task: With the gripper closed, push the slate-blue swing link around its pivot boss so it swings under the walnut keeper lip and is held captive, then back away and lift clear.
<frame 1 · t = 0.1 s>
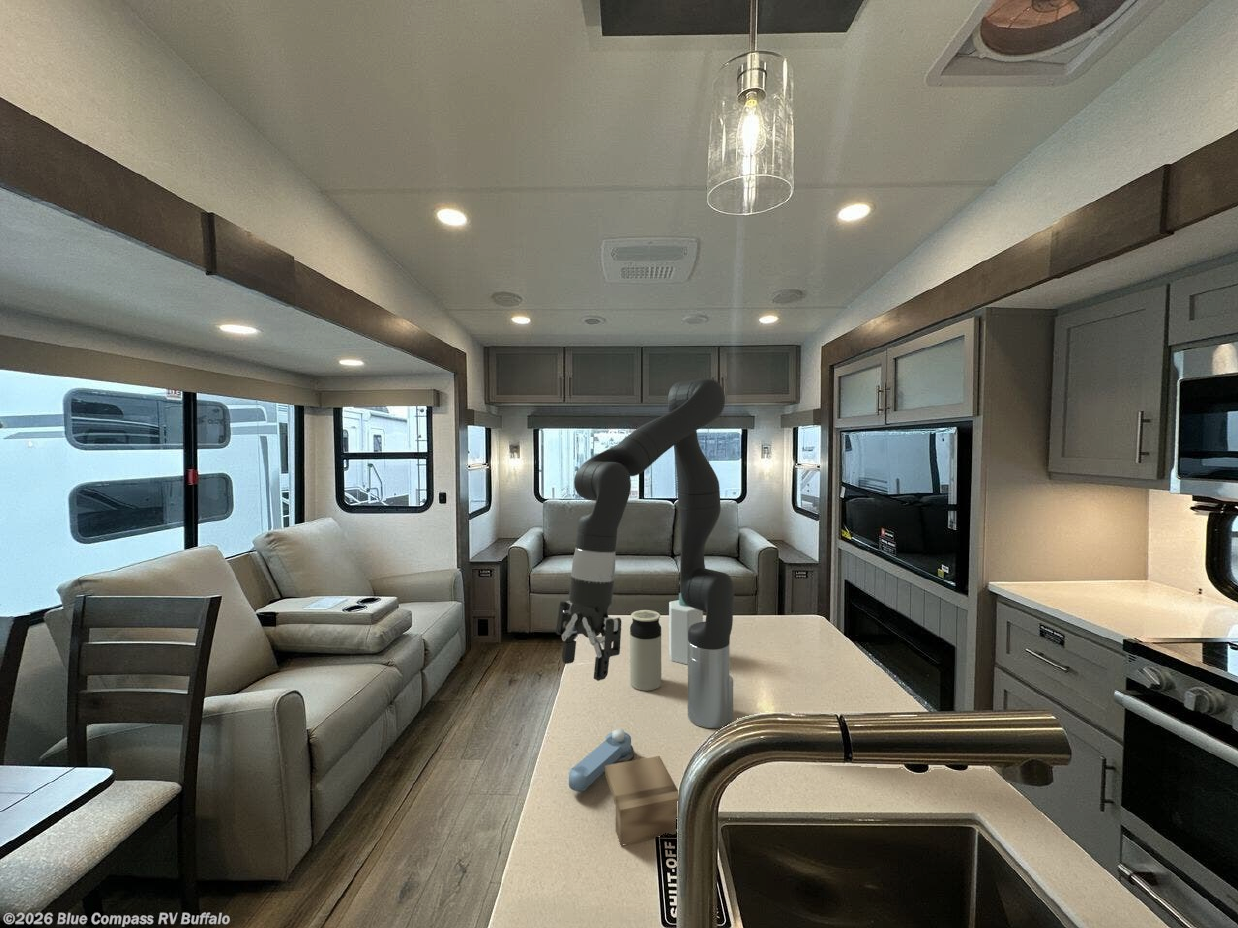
hand: (583, 670, 81), 22 cm above the kitchen island, tool pointing down, fingers open, 8 cm apart
soap bottle: (685, 657, 137), on the kitchen island
pivot boss: (618, 756, 93), on the kitchen island
travel mug: (645, 684, 122), on the kitchen island
swing link: (600, 755, 88), point 3 cm above the kitchen island, hinge at -50.0°
keeper: (648, 831, 75), on the kitchen island
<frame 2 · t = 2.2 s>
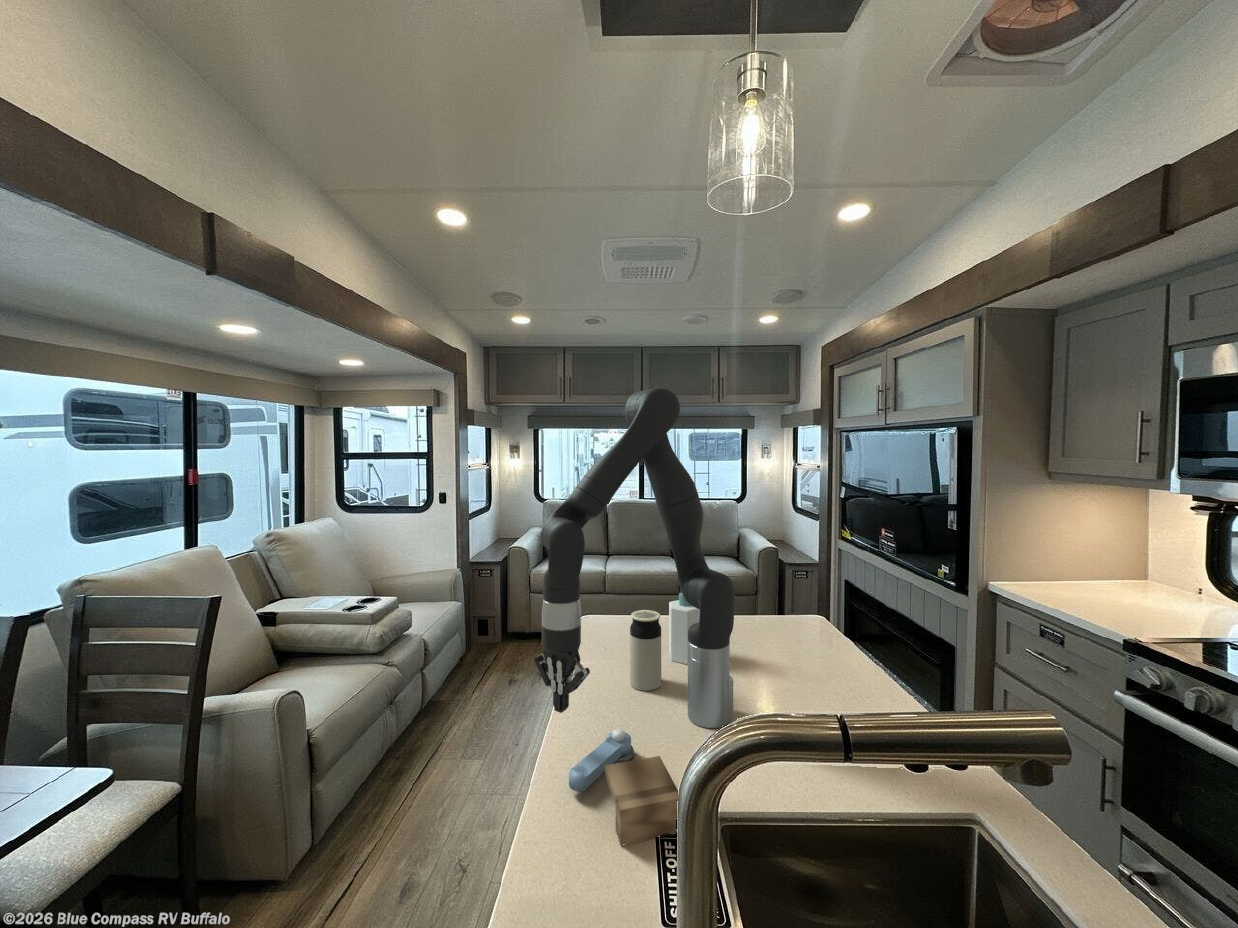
hand: (560, 709, 92), 10 cm above the kitchen island, tool pointing down, fingers closed
nothing on the kitchen island moved.
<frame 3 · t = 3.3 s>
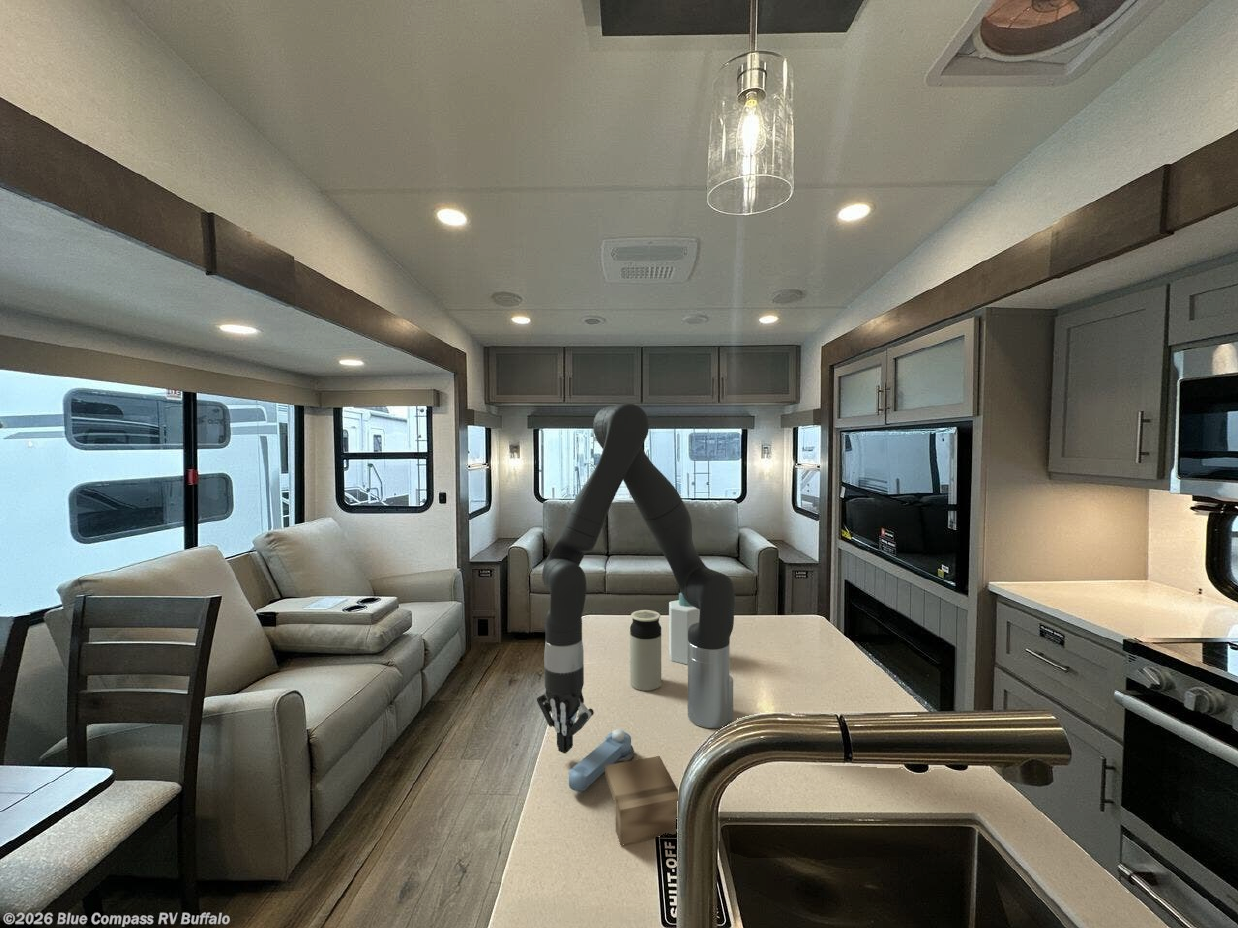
hand: (564, 750, 92), 2 cm above the kitchen island, tool pointing down, fingers closed
nothing on the kitchen island moved.
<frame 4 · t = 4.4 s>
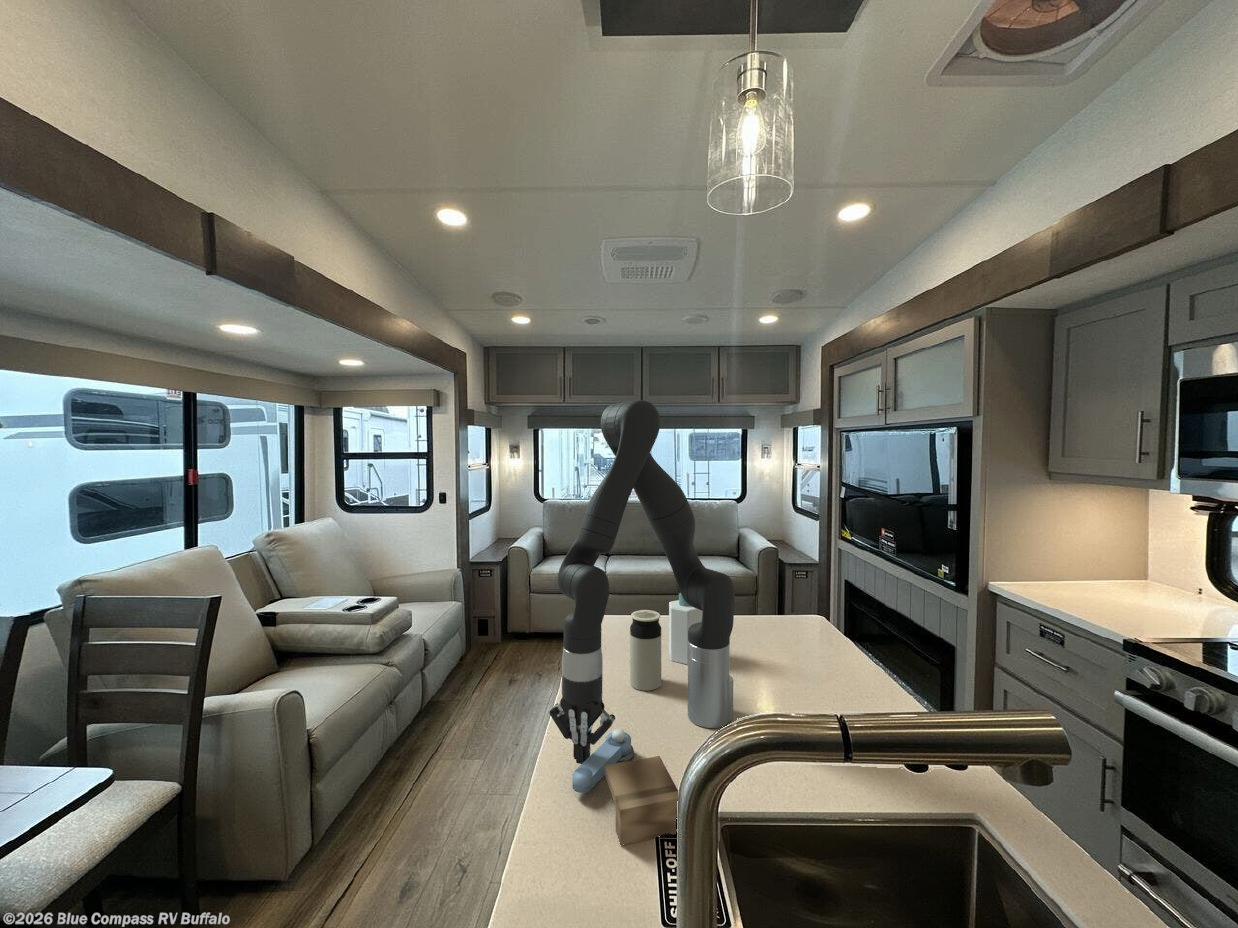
hand: (581, 760, 89), 2 cm above the kitchen island, tool pointing down, fingers closed
swing link: (602, 756, 88), point 3 cm above the kitchen island, hinge at -46.1°, touching gripper
everything else where it was.
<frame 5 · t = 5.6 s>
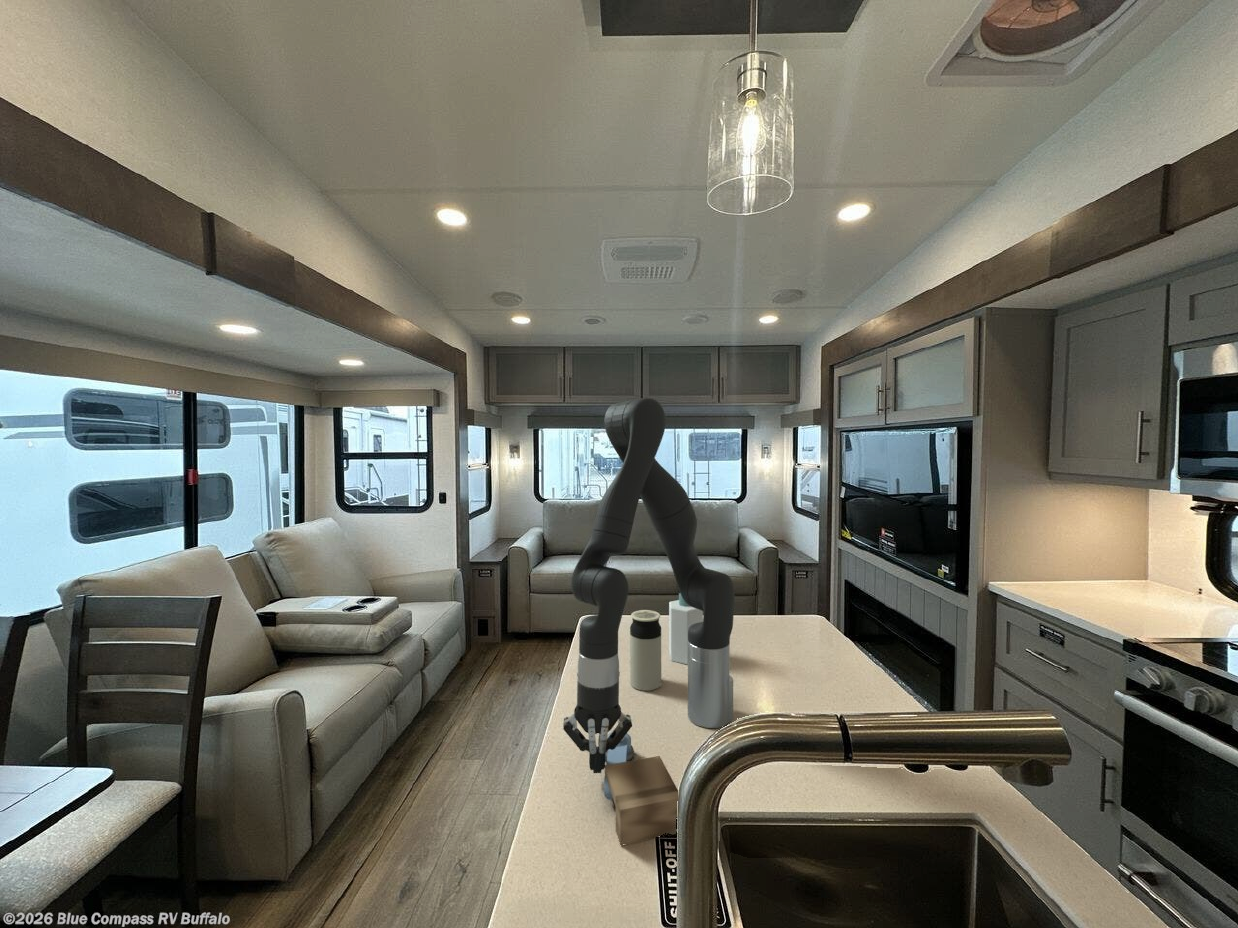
hand: (596, 770, 86), 2 cm above the kitchen island, tool pointing down, fingers closed
swing link: (616, 759, 87), point 3 cm above the kitchen island, hinge at -17.9°, touching gripper
everything else where it was.
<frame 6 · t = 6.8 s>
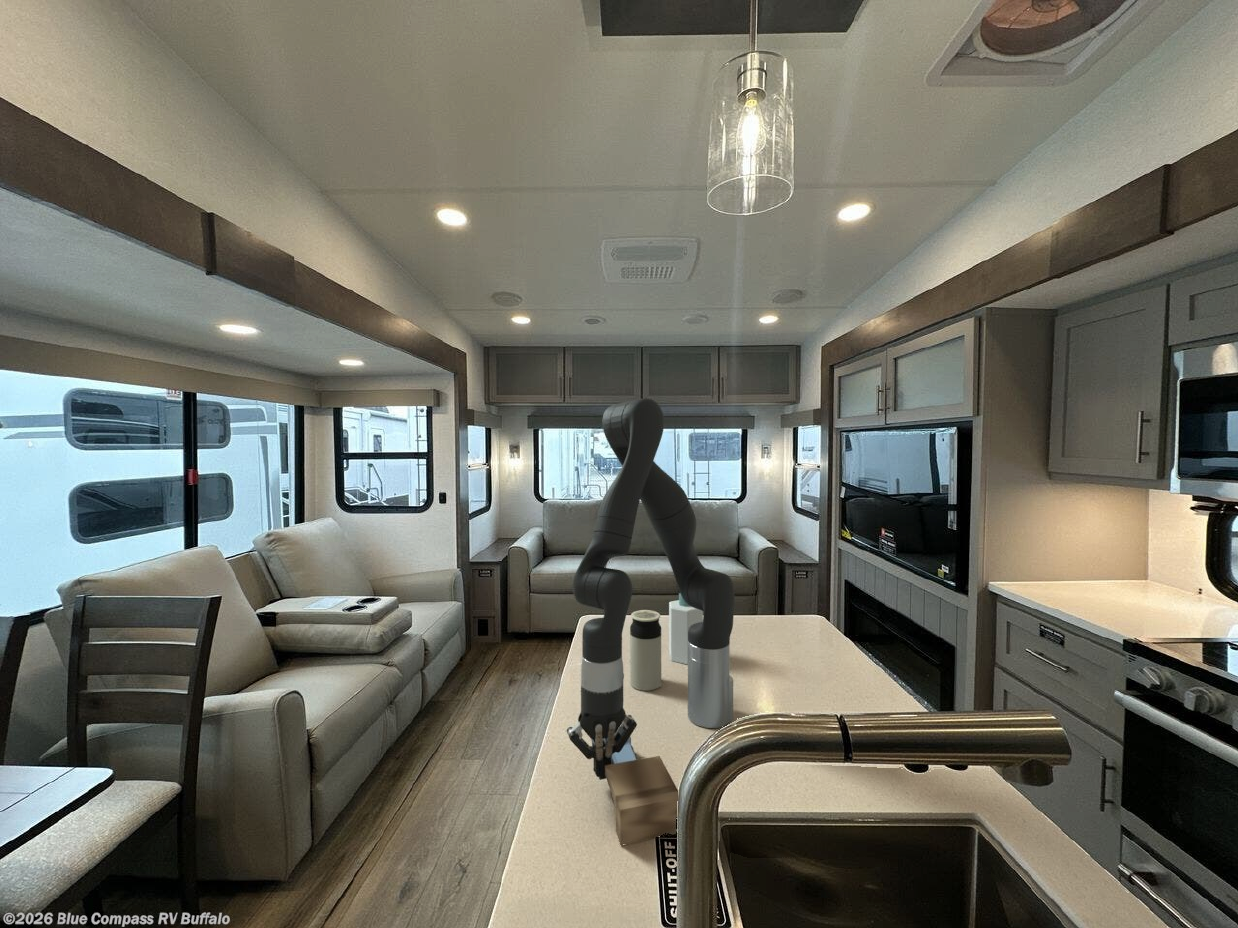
hand: (602, 776, 84), 2 cm above the kitchen island, tool pointing down, fingers closed
swing link: (625, 758, 88), point 3 cm above the kitchen island, hinge at -1.3°
everything else where it was.
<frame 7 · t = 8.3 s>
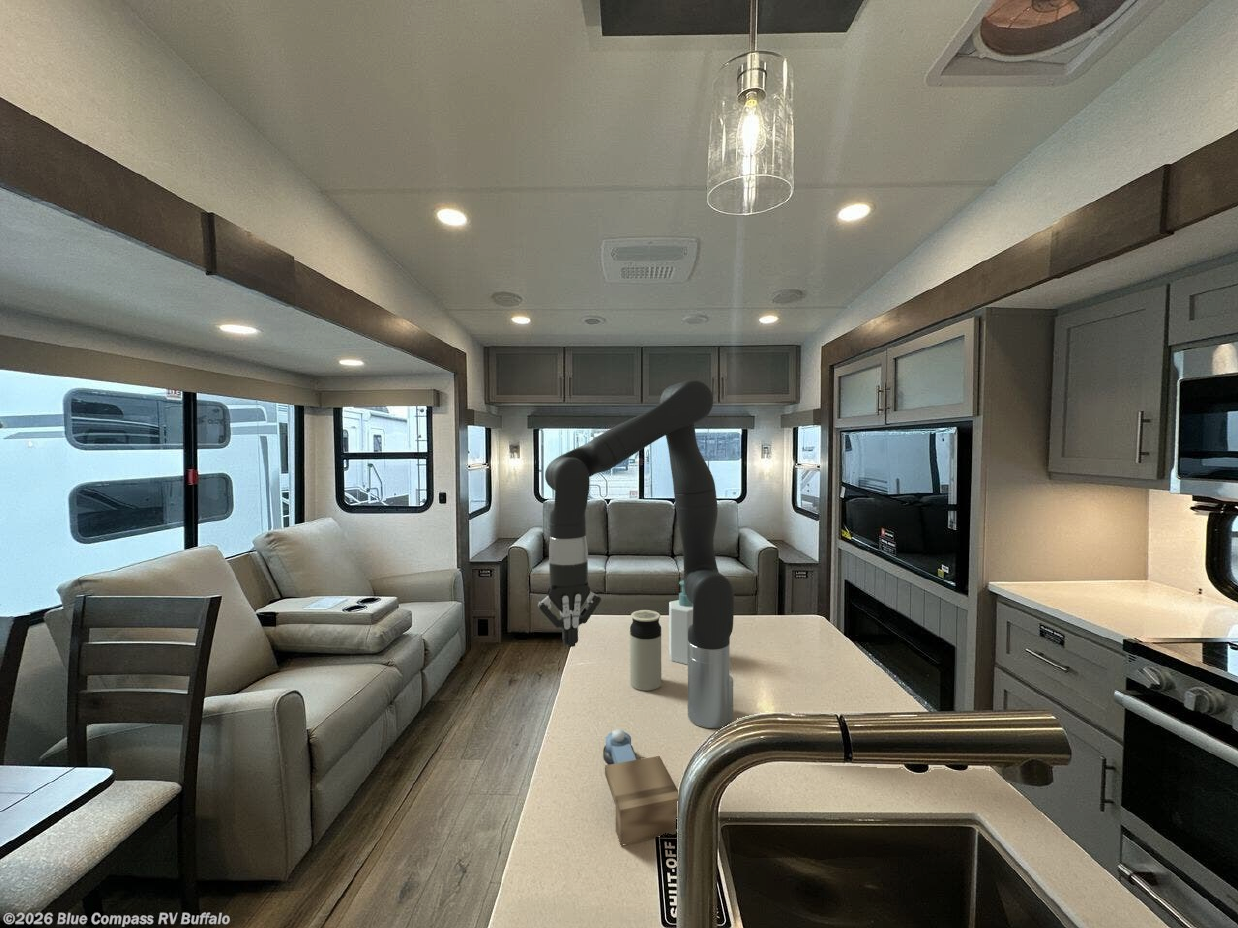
hand: (570, 645, 94), 22 cm above the kitchen island, tool pointing down, fingers closed
nothing on the kitchen island moved.
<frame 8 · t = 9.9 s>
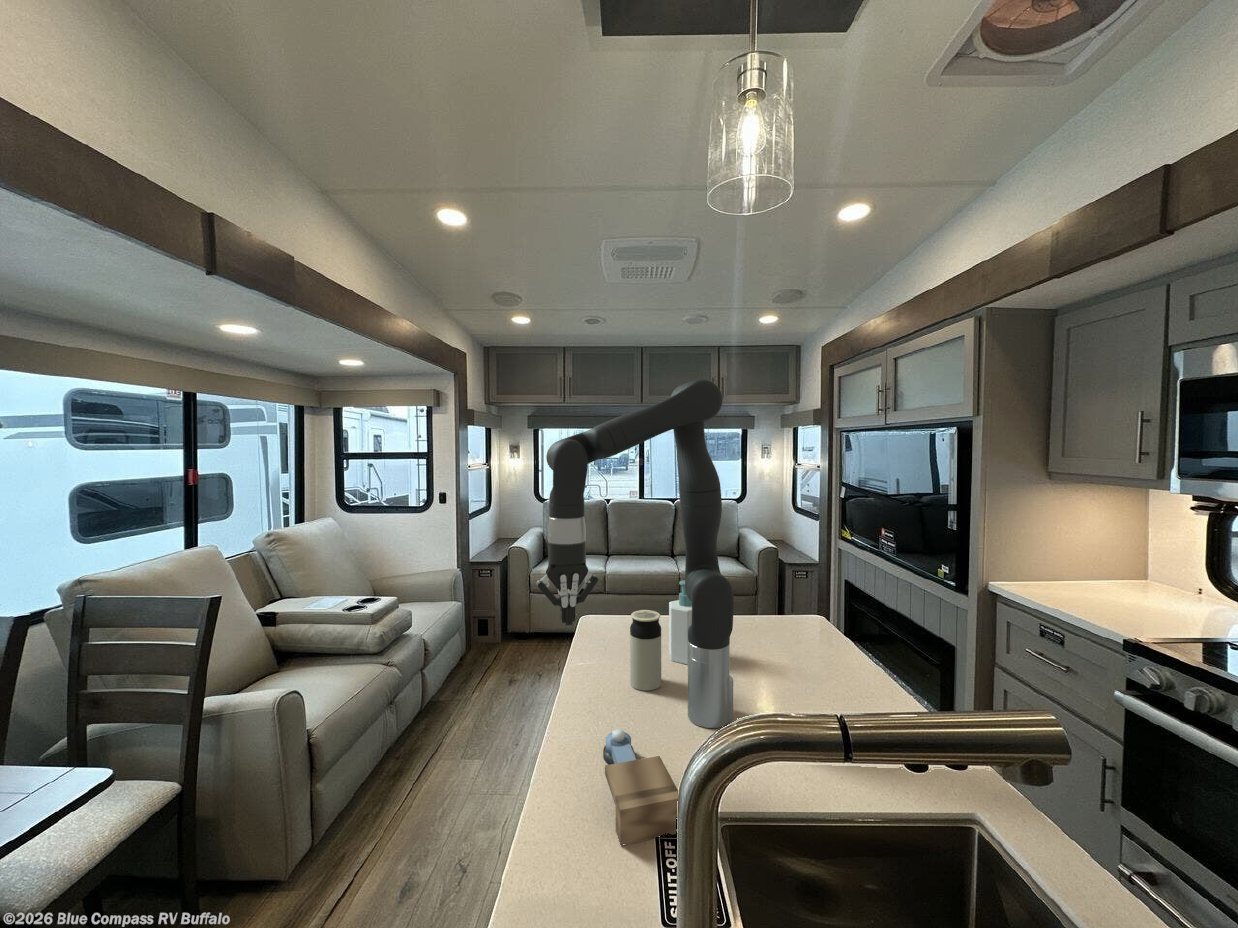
hand: (567, 623, 96), 25 cm above the kitchen island, tool pointing down, fingers closed
nothing on the kitchen island moved.
at the end: swing link at -1° (first picture: -50°); the gripper is holding nothing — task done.
